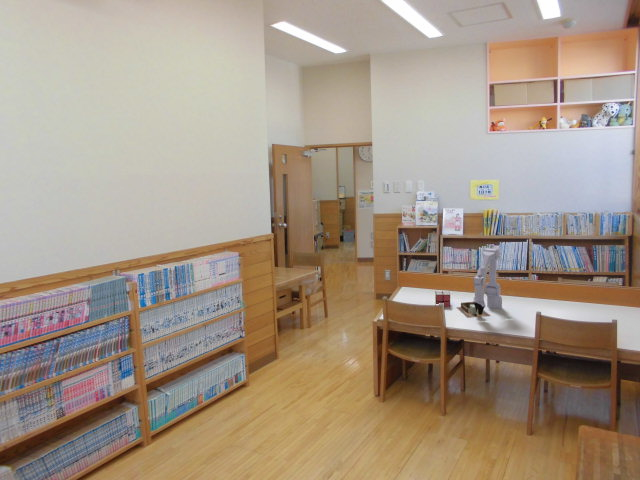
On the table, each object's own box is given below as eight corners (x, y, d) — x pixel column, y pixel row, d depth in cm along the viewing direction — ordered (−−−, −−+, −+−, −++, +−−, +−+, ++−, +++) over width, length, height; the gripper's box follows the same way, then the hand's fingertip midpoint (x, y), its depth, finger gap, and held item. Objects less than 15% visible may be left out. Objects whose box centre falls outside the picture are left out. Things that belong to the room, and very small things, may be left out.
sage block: (476, 311, 321) (476, 303, 320) (483, 317, 310) (483, 309, 308) (469, 311, 321) (469, 303, 320) (476, 318, 309) (476, 310, 308)
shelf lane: (477, 306, 333) (477, 301, 332) (490, 317, 311) (490, 310, 311) (455, 308, 332) (455, 302, 331) (467, 318, 310) (467, 312, 310)
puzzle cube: (450, 308, 334) (450, 294, 332) (436, 307, 336) (435, 294, 334) (449, 303, 343) (449, 290, 342) (435, 303, 346) (435, 290, 344)
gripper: (469, 291, 315) (469, 310, 317) (477, 297, 301) (477, 317, 303) (479, 290, 315) (479, 309, 318) (488, 297, 301) (488, 316, 303)
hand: (479, 313), depth 310 cm, fingers closed on sage block, 3 cm apart
